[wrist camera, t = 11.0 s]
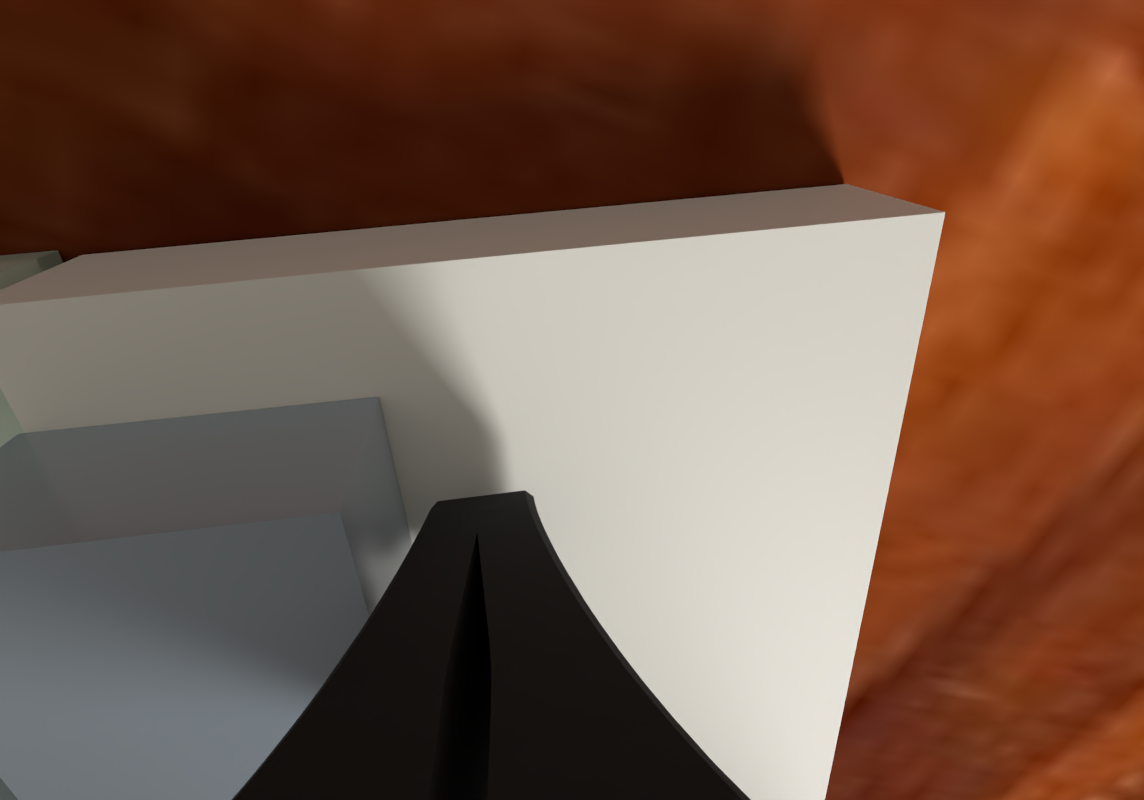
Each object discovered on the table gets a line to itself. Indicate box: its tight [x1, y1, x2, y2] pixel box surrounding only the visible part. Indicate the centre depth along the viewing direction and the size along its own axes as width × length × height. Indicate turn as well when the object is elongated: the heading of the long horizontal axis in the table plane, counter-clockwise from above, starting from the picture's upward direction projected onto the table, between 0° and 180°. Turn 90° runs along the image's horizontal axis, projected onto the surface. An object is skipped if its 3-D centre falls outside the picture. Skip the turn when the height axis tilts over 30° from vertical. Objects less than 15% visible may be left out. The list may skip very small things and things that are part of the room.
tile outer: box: [0, 397, 412, 800], centre depth 8 cm, size 4×4×2 cm
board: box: [0, 184, 945, 800], centre depth 12 cm, size 16×12×2 cm
